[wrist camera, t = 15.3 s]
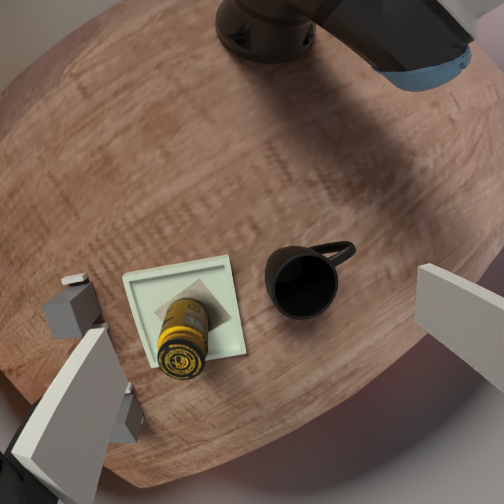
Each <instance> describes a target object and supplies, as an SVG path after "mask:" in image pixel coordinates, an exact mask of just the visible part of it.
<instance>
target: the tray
mask: <svg viewBox="0 0 504 504" xmlns="http://www.w3.org/2000/svg"><path fill="white" fill-rule="evenodd" d="M122 278H123V282H124V286H125V289H126V293H127V297H128V300H129V303H130V307H131V310H132V313H133V317H134V320H135V323H136V326H137V329H138V332H139V335H140V338H141V341H142V344H143V347H144V349H145V352H146V355H147V358H148V360H149V363H150V366H151V368H154V367H159V365H158V361H157V354H158V349H157V343H158V338H159V335H160V331H161V328H162V324H163V322H162V321H161V319H160V318H159V317H158V316H157V315H156V314H155V313H154V312H155V311H156V310H157V309H158V308H160V307H161V306H162V305H164V304H165V303H167V302H168V301H169V300H171V299H172V298H173V297H175V296H176V295H177V294H179V293H180V292H182V291H183V290H184V289H186V288H187V287H188V286H190V285H191V284H192V283H194V282H195V281H196V280H198V279H199V278H200V280H201V281H202V282H203V283H204V285H205V286H206V287H207V288H208V289H209V291H210V292H211V293H212V294H213V295H214V297H215V298H216V299H217V300H218V302H219V303H220V304H221V305H222V306H223V308H224V309H225V310H226V311H227V313H228V314H229V315H230V316H231V318H229V319H228V320H226V321H225V322H223V323H222V324H220V325H219V326H217V327H216V328H214V329H213V330H212V331H210V332H209V333H208V354H207V357H206V359H205V361H206V360H213V359H219V358H224V357H230V356H235V355H241V354H246V348H245V343H244V338H243V332H242V327H241V322H240V316H239V311H238V305H237V300H236V294H235V289H234V283H233V277H232V272H231V266H230V260H229V256H228V255H222V256H217V257H211V258H206V259H200V260H194V261H189V262H183V263H178V264H172V265H167V266H161V267H155V268H150V269H144V270H139V271H133V272H128V273H125V274H124V275H123V276H122Z"/></svg>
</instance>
